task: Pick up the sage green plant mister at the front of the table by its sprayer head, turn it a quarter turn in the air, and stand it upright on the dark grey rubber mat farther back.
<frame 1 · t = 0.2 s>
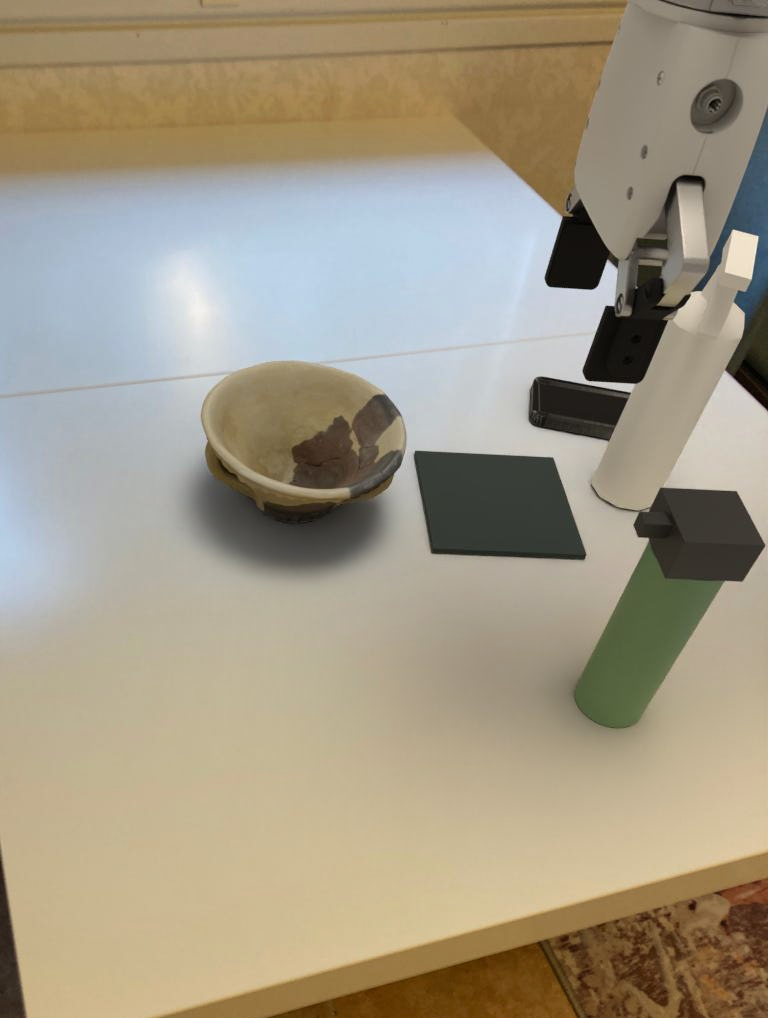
hand: (589, 330, 52), 29 cm above the table, tool pointing down, fingers open, 9 cm apart
bowl: (295, 504, 86), on the table
mat: (495, 504, 88), on the table
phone: (599, 418, 99), on the table
mister: (608, 700, 73), on the table
white cylindrical bottle: (626, 486, 92), on the table
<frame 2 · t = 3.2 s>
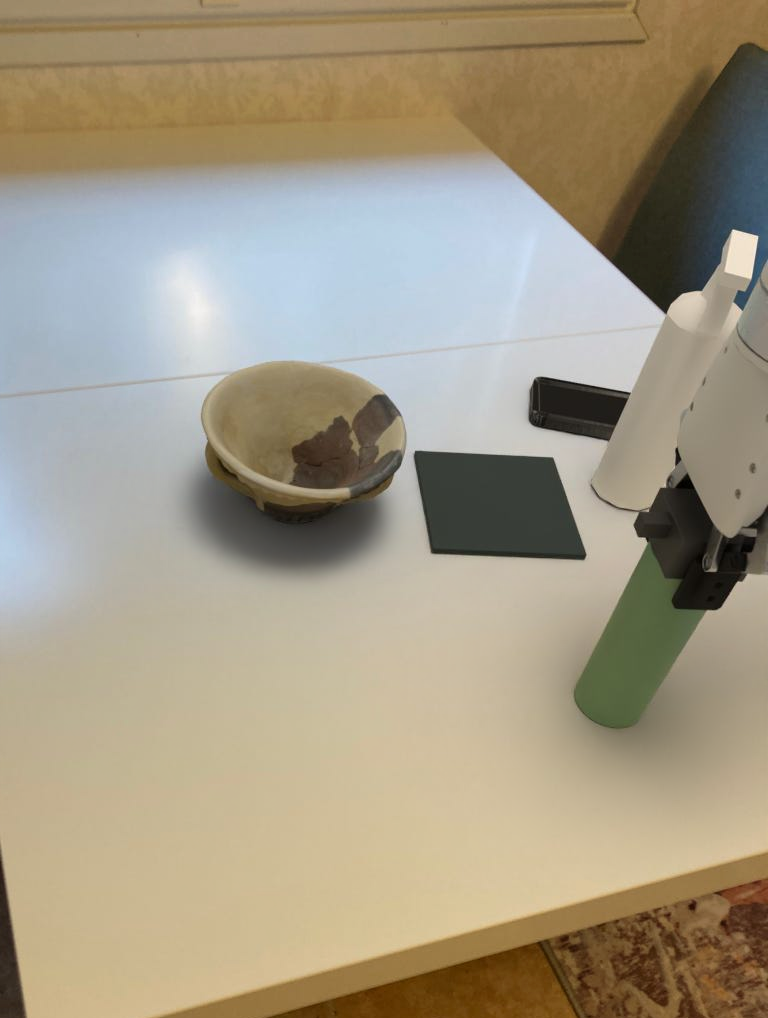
hand: (680, 570, 62), 14 cm above the table, tool pointing down, fingers closed on mister, 5 cm apart
mister: (608, 700, 73), on the table, touching gripper
everything else where it was.
when the fingers open (15 cm above the table, at t = 11.9 s): mister stays where it is, resting on mat.
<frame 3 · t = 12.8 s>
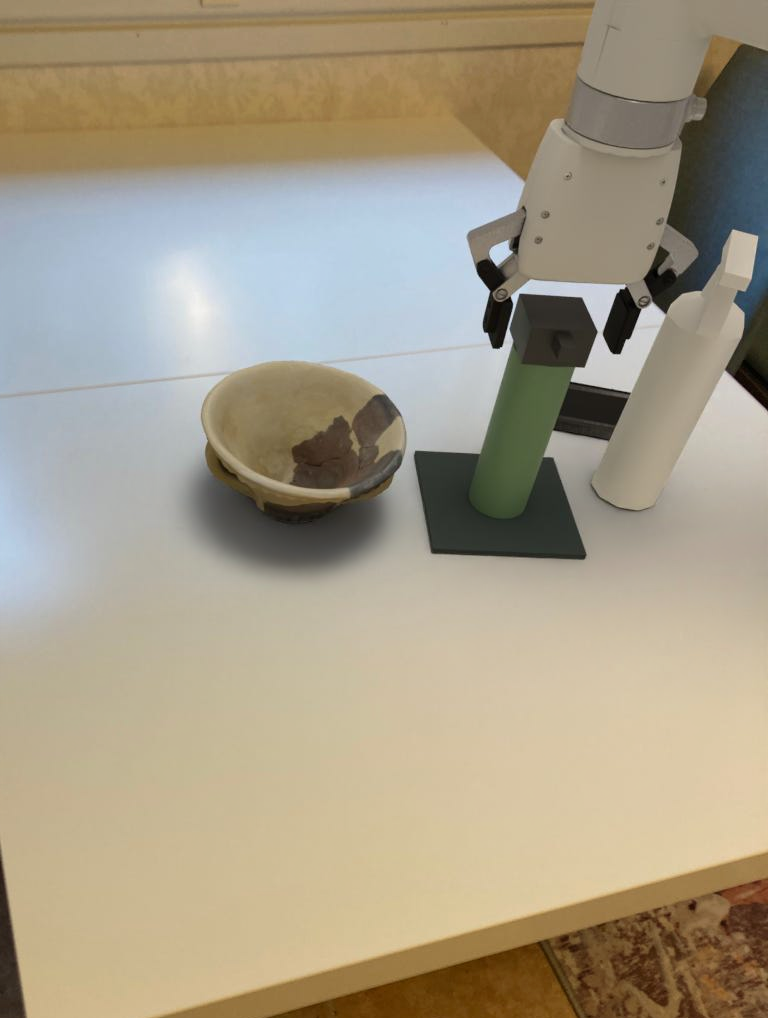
hand: (552, 342, 75), 17 cm above the table, tool pointing down, fingers open, 9 cm apart
mister: (496, 500, 87), point 1 cm above the table, touching mat
everything else where it was.
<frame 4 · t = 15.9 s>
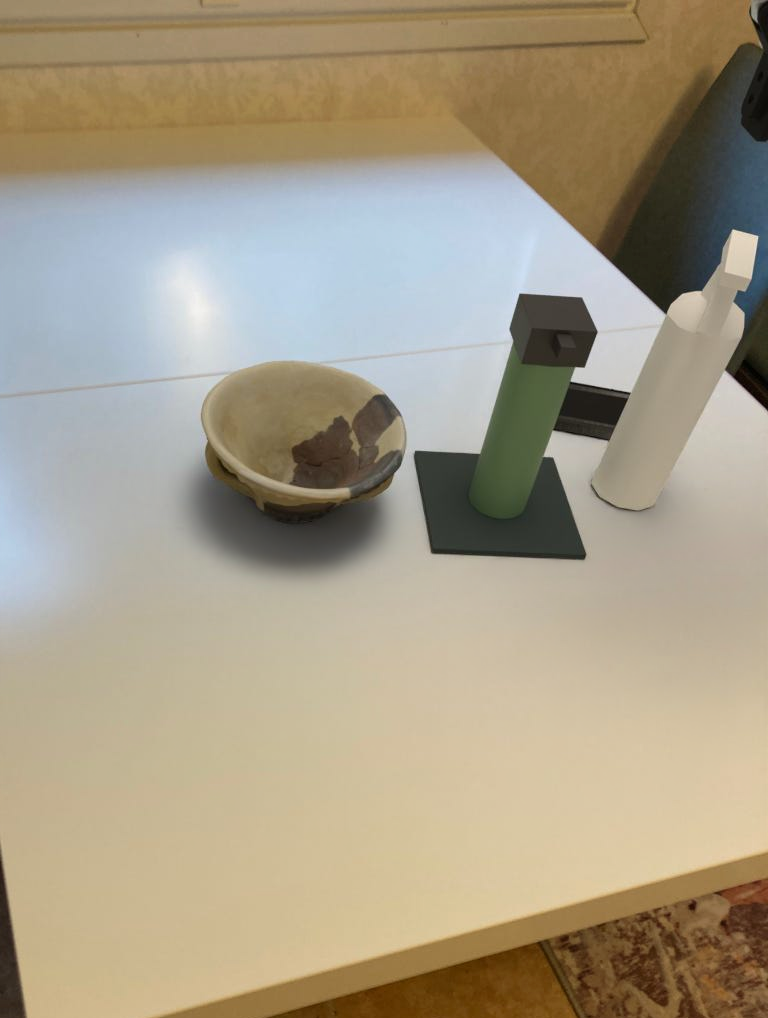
nothing on the table moved.
at the end: mister inside the target area on the mat (0.0 cm from its centre), point 0.6 cm above the mat's base; mister tilted 0°; the gripper is holding nothing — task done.
